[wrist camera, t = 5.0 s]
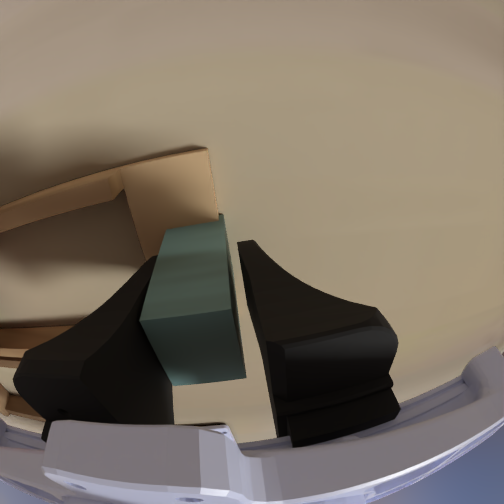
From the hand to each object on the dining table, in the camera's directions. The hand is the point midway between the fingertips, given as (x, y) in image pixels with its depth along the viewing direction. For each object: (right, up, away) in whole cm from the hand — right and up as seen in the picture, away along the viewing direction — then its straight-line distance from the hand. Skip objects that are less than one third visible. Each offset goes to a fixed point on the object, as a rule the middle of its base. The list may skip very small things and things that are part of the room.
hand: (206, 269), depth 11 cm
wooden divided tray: (-9, 0, +1) cm, 9 cm away
